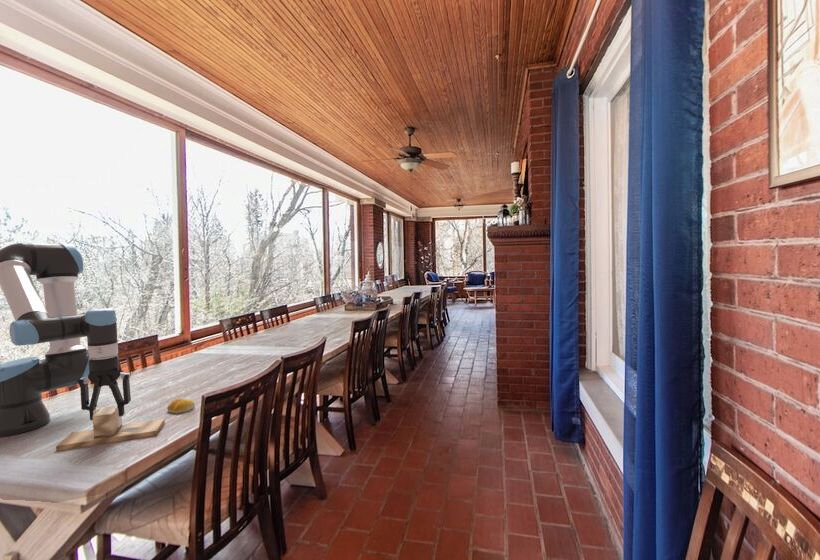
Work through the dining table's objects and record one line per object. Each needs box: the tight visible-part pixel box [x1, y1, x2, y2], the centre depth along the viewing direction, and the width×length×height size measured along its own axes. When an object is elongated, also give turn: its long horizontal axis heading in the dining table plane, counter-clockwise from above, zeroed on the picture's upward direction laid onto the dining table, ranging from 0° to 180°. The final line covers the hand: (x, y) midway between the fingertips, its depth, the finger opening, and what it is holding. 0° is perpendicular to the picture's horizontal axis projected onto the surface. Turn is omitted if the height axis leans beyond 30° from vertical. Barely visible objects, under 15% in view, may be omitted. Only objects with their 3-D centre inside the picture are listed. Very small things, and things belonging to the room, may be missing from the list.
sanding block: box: [92, 404, 123, 438], centre depth 123 cm, size 5×8×7 cm, turn 21°
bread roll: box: [166, 398, 195, 414], centre depth 145 cm, size 8×9×4 cm
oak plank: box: [55, 418, 166, 452], centre depth 124 cm, size 26×10×2 cm, turn 111°
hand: (108, 427), depth 123 cm, fingers closed on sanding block, 5 cm apart
